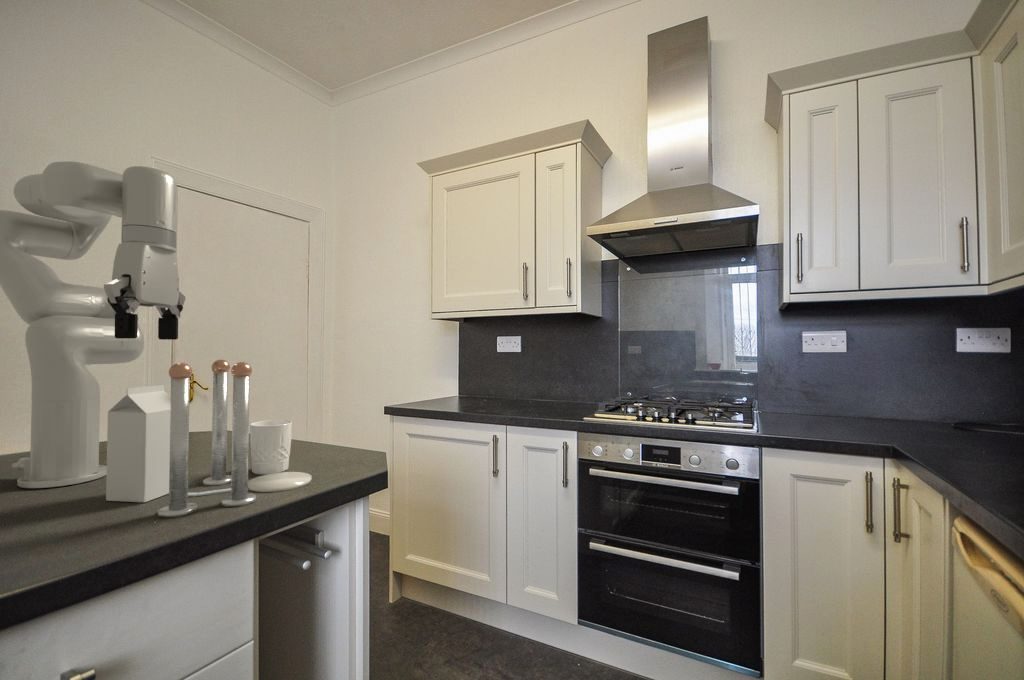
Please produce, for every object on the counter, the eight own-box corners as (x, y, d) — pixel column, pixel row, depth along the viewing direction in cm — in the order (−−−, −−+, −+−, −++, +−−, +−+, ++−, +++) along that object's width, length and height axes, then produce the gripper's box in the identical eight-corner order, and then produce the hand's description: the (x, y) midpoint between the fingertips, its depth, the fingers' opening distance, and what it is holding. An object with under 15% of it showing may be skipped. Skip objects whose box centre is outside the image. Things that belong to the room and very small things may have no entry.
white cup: (262, 477, 90) (263, 427, 91) (241, 471, 95) (242, 423, 95) (299, 469, 97) (299, 422, 97) (277, 463, 101) (278, 418, 101)
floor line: (168, 499, 78) (168, 497, 78) (173, 494, 80) (173, 492, 80) (244, 491, 82) (244, 489, 82) (246, 487, 84) (246, 485, 84)
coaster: (234, 492, 81) (234, 488, 81) (264, 474, 92) (264, 471, 92) (297, 492, 82) (297, 488, 82) (320, 474, 93) (320, 471, 93)
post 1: (149, 518, 69) (152, 363, 69) (172, 506, 74) (175, 362, 74) (183, 517, 69) (186, 363, 70) (204, 506, 74) (206, 362, 75)
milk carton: (179, 490, 82) (181, 385, 83) (144, 503, 75) (146, 388, 76) (143, 488, 83) (145, 384, 83) (105, 501, 76) (107, 388, 76)
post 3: (215, 507, 74) (217, 362, 74) (232, 496, 79) (234, 361, 79) (246, 506, 74) (249, 362, 74) (261, 496, 79) (264, 361, 80)
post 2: (197, 485, 85) (199, 359, 85) (213, 477, 90) (215, 359, 90) (224, 485, 85) (226, 360, 86) (239, 477, 90) (241, 359, 90)
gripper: (162, 251, 88) (161, 339, 88) (83, 228, 71) (81, 337, 71) (202, 251, 89) (201, 339, 88) (133, 228, 71) (131, 338, 71)
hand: (148, 338), depth 79 cm, fingers open, 9 cm apart
